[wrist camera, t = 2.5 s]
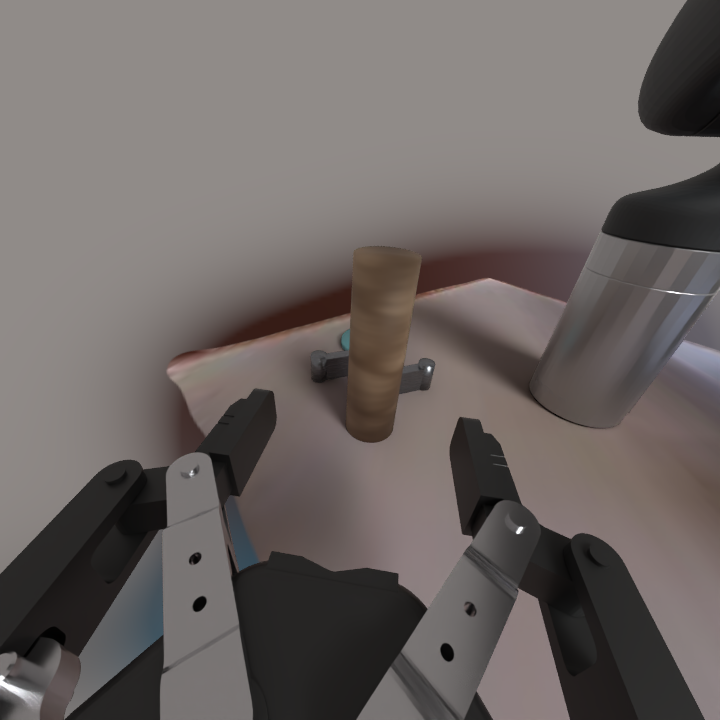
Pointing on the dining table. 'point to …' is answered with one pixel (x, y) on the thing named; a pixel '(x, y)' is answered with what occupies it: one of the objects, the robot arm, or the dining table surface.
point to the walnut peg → (378, 337)
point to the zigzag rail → (337, 366)
